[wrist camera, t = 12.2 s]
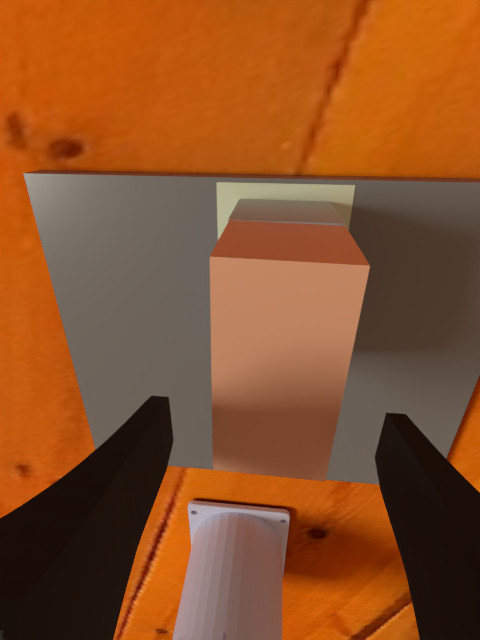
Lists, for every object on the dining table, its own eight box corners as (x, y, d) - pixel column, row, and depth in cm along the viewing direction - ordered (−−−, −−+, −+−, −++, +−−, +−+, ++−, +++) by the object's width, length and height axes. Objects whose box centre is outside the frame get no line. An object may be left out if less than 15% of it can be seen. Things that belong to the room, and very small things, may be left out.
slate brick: (310, 353, 20) (317, 403, 16) (237, 348, 20) (228, 396, 17) (330, 201, 16) (344, 223, 12) (239, 198, 16) (228, 219, 13)
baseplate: (427, 473, 25) (434, 490, 24) (105, 446, 27) (97, 459, 26) (538, 179, 16) (557, 184, 15) (38, 170, 18) (22, 173, 17)
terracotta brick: (315, 404, 16) (325, 481, 13) (227, 396, 17) (213, 469, 13) (345, 225, 12) (370, 265, 9) (229, 219, 13) (209, 256, 9)
